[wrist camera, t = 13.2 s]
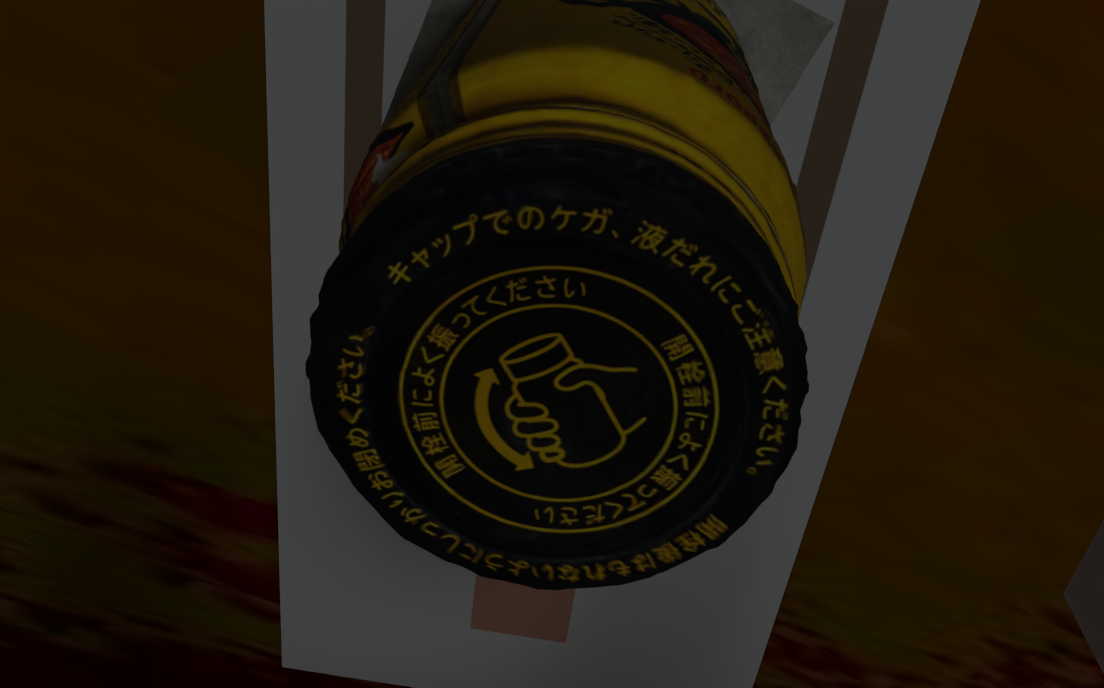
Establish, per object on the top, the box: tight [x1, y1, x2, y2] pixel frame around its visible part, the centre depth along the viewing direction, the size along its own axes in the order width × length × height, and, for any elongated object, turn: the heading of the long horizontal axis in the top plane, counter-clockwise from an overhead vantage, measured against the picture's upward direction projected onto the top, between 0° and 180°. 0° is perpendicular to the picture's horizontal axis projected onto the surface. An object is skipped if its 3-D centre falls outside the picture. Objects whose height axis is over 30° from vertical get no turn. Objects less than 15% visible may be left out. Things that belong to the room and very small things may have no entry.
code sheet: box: [264, 0, 980, 688], centre depth 24 cm, size 24×14×1 cm, turn 173°
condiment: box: [305, 0, 835, 591], centre depth 15 cm, size 7×8×12 cm
